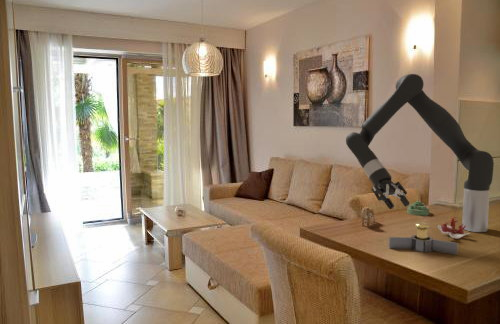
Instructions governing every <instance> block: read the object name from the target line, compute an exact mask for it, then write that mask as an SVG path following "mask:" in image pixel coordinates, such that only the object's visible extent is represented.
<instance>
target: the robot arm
mask: <svg viewBox="0 0 500 324" xmlns="http://www.w3.org/2000/svg"><path fill="white" fill-rule="evenodd" d="M423 89H424V80H423V78H422V77H421V76H420V74H417V73H409V74H406V75H404V76H401V77H400V78H399V79H397V81H396V83H395V91H394V92H393V93H392V94H391V95H390V96H389V98H388V99H387V100H385V102H384V103H382V104H381V105H380V106H379V107H378V108H377V109H375V110H374V111H373V112H372V113H371V114H370V115H369V116H368V117H367V118H366V119H365V120H364V122H363V123H362V124H361V130H360V132H355V131H354V132H351V133H349V134H348V135H347V136H346V138H345V143H346V146H347V148H348V149H349V150H350V151H351V153H352V154H353V155H354V157H355V158H356V160H357V161H358V163H359V164H360V166H361V168H362V169H363V171H364V172H365V175H366V176H367V178H368V180H369V181H370V182H371V184H372V185H373V186H372V187H371V191H372V192H373V193H374V196H375V197H376V199H377V200H378V201H379V202H380V201H382V202H383V203H384V204H385V206H387V208H388V209H389V210H392V209H393V208H394V207H395V205H394V203H393V202H392V200H391V198H389V195H391V196H393V197H396V198H398V199H399V201H401V203H402V205H403V206H404V207H406V208H407V207H409V204H410V201H409V200H408V198H407V197H406V195H407V194H408V192H407V190H406V189H405V188H404V187H403V185H402V184H401V182H400V181H396V182H395V183H394V182H393V181H392V178H393V177H392V176H391V174H390V172H389V171H388V169H387V168H386V167H385V166H384V164H383V163H382V162H381V161H380V160H379V158H378V157H377V155H376V154H375V153H374V151H372V149H371V147H369V146H370V144H371V143H372V141H373V139H374V137H375V136H376V135H377V134H378V133H379V132H380V131H381V129H383V127H384V126H386V124H388V123H389V121H390V120H391V119H392V117H394V116H395V114H396V113H397V112H398V111H399V110H401V109H402V108H403V107H404V106H405V105H406V104H408V105H410V106H411V107H412V108H413V109H414V110H415V111H416V113H417V114H418V116H420V118H421V119H422V120H423V122H425V124H426V125H427V126H428V127H429V128H430V129H431V131H432V132H434V134H435V135H437V136H438V138H439V139H440V140H441V141H442V142H443V143H444V144H445V145H446V146H447V147H448V148H450V149H451V151H452V152H453V153H454V155H455V156H456V157H457V159H458V160H459V162H460V163H461V164H462V167H464V168H465V169H466V170H467V171H468V175H467V176H468V177H467V179H466V180H465V181H464V184H463V199H462V200H463V204H462V219H461V220H462V223H461V225H462V224H463V226H462V227H464V226H465V225H466V227H465V228H464V230H465V231H468V232H473V233H485V232H488V222H489V205H490V189H491V184H492V183H493V176H494V166H495V165H494V164H495V163H494V158H493V156H492V155H491V154H490V153H489V152H487V151H484V150H479V149H478V148H476V147H475V146H474V145H473V144H472V143H471V142H470V141H469V140H468V139H467V137H466V136H465V134H464V132H463V130H462V128H461V125H460V124H459V123H458V121H457V120H456V118H455V117H454V116H452V114H451V113H450V111H448V110H447V109H446V108H445V107H443V106H441V105H440V104H439V103H438V102H436V101H434V100H433V99H431V98H430V97H429V96H428V95H427V94H426V93H425V91H424V90H423ZM464 230H463V231H464Z"/></svg>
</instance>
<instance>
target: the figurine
mask: <svg viewBox="0 0 500 324" xmlns="http://www.w3.org/2000/svg"><path fill="white" fill-rule="evenodd" d="M457 218H458V217H451V218H450V219H451V220H450V222H449V223H450V225H448V224H449V223H448V222H447V223H446V222H444V223H442V225H440V224H438V225H436V227H437V228H438V230H440V233H441V234H443V235H445V234H448V235H449V237H450V238H452V239H456V240H458V239H461V238H463V237H464V236H468V235H470V234H471V233H470V232H465V231H464V228H465V227H466V225H465V226H464V227H462V226H463V224H462V223H461V225H459V226H458V229H456V223H458V220H455V219H457Z"/></svg>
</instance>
